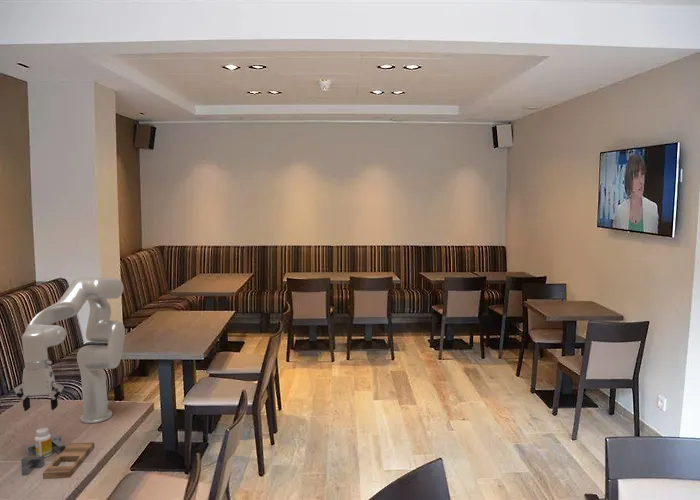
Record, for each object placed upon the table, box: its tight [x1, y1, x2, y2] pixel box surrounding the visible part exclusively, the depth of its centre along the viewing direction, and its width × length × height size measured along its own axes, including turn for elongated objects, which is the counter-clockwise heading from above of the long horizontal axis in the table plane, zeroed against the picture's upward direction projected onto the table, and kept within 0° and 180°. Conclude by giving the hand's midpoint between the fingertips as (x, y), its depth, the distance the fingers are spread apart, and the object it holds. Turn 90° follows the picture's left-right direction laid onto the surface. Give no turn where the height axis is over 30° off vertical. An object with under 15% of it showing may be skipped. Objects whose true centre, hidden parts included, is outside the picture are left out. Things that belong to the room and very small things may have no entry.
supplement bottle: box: [34, 427, 53, 458], centre depth 214 cm, size 5×5×10 cm
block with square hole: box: [42, 441, 95, 479], centre depth 209 cm, size 22×9×2 cm, turn 3°
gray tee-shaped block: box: [20, 456, 45, 476], centre depth 204 cm, size 7×7×3 cm
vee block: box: [25, 435, 66, 457], centre depth 219 cm, size 9×14×3 cm, turn 93°
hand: (40, 408), depth 213 cm, fingers open, 9 cm apart
